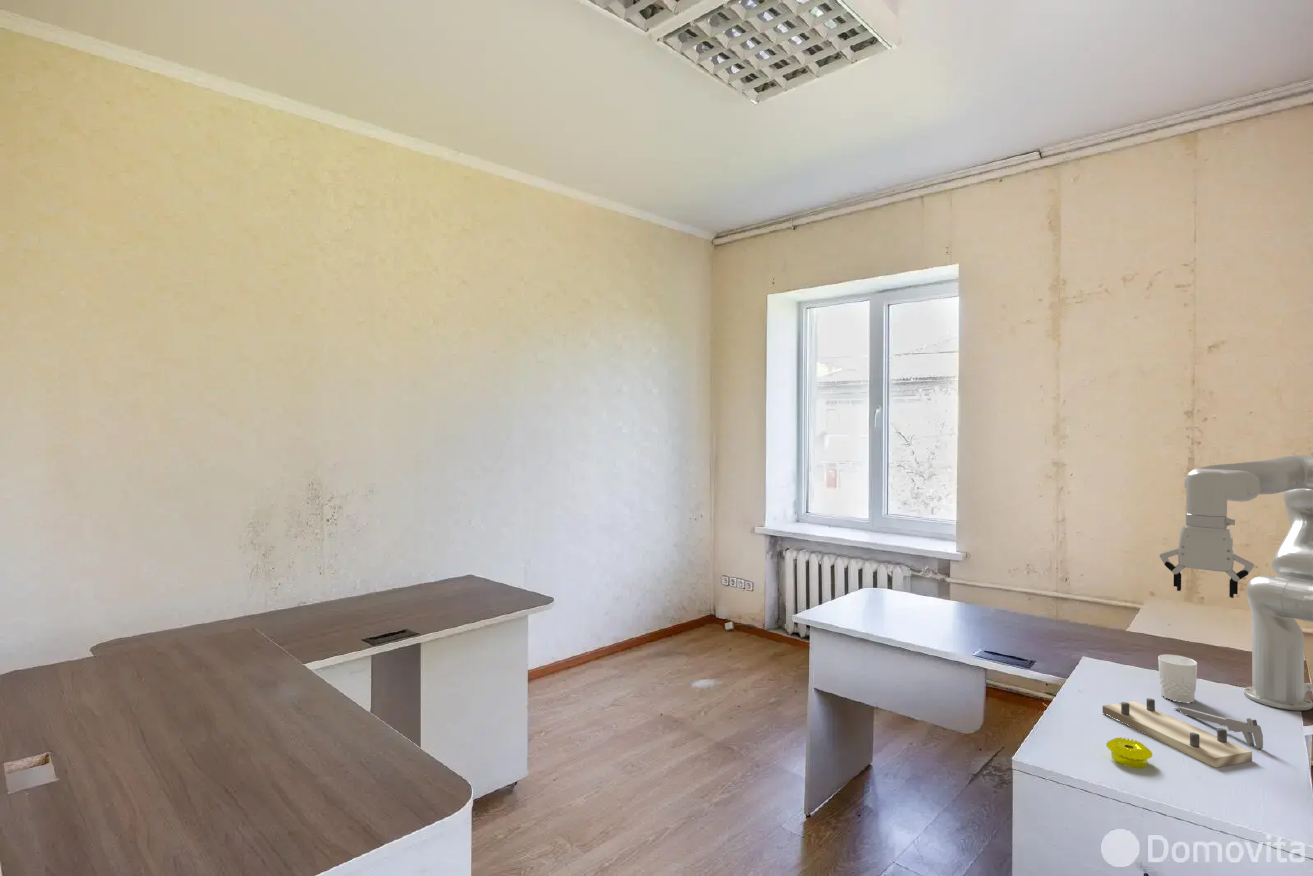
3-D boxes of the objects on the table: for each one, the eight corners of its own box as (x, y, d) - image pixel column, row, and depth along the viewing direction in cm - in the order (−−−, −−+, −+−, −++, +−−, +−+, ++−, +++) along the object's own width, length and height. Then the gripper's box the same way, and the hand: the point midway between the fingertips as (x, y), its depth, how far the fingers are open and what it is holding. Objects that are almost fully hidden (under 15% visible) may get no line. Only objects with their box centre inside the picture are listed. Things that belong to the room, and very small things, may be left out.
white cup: (1191, 694, 169) (1191, 656, 169) (1202, 706, 162) (1201, 667, 162) (1154, 690, 173) (1154, 652, 172) (1163, 701, 165) (1162, 663, 165)
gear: (1133, 773, 133) (1162, 767, 135) (1133, 756, 133) (1162, 749, 135) (1097, 755, 140) (1124, 749, 143) (1097, 738, 140) (1124, 732, 143)
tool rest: (1135, 708, 162) (1135, 691, 162) (1252, 760, 136) (1251, 739, 136) (1102, 713, 159) (1102, 695, 159) (1215, 767, 134) (1215, 746, 134)
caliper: (1263, 751, 141) (1263, 722, 141) (1258, 751, 141) (1258, 722, 141) (1177, 710, 161) (1177, 685, 161) (1173, 710, 161) (1173, 685, 161)
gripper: (1254, 524, 152) (1252, 596, 152) (1161, 517, 164) (1160, 584, 164) (1255, 527, 147) (1254, 602, 147) (1159, 520, 158) (1158, 590, 158)
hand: (1204, 593), depth 155 cm, fingers open, 9 cm apart
